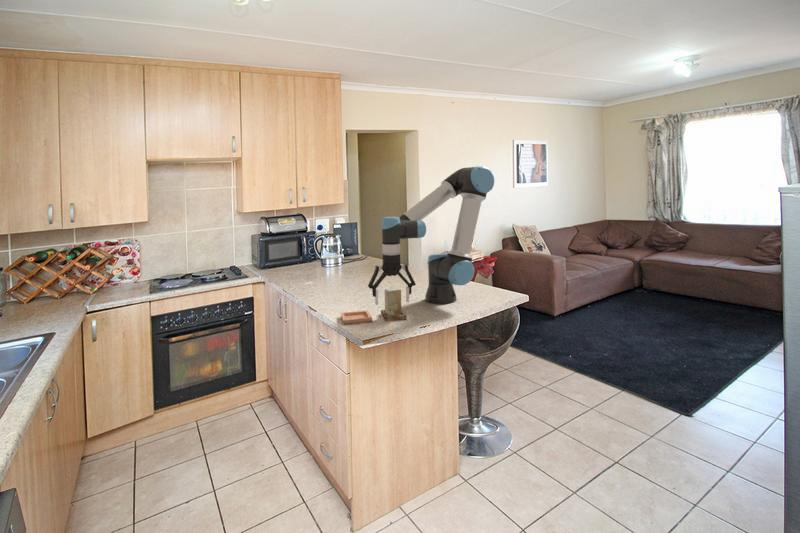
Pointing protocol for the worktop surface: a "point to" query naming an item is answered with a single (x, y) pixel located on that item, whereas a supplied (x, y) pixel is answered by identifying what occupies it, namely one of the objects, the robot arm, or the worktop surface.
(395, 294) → the skincare box
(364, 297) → the worktop surface
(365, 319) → the tray
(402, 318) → the pocket frame
